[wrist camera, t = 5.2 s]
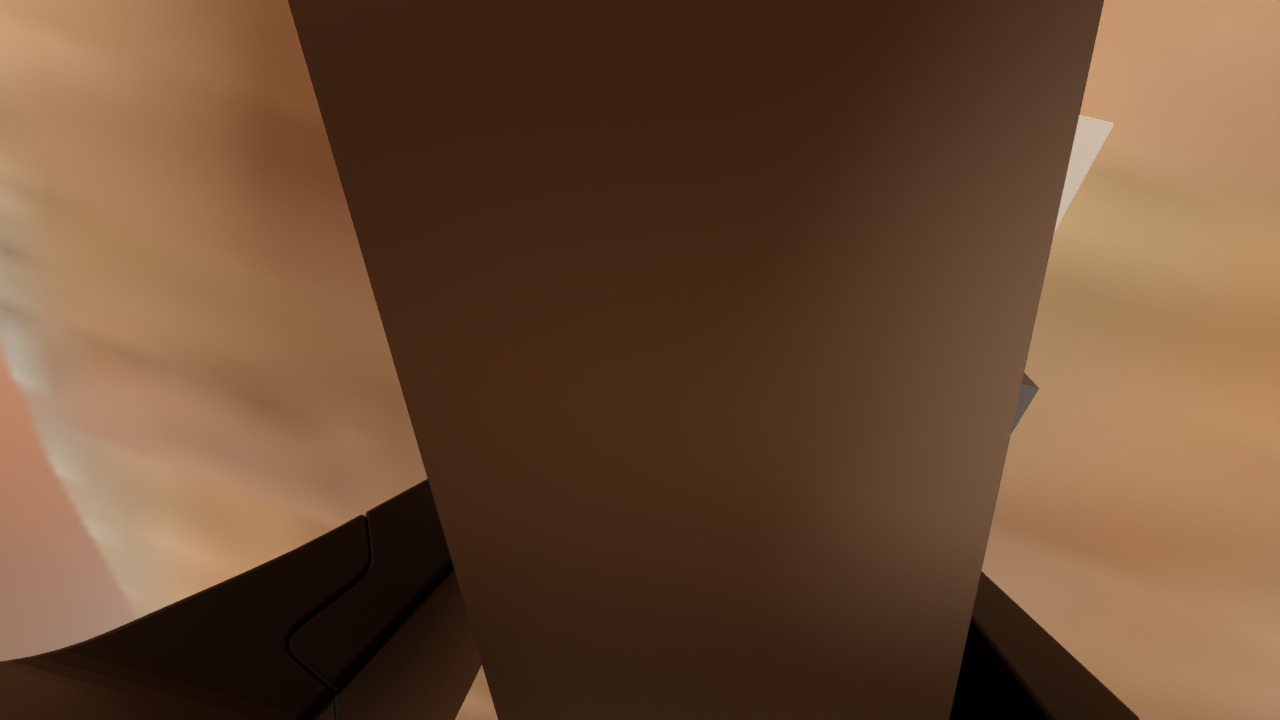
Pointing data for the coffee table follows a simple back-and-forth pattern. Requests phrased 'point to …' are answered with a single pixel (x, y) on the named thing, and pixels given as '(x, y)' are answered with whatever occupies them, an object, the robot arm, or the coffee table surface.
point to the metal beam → (708, 325)
